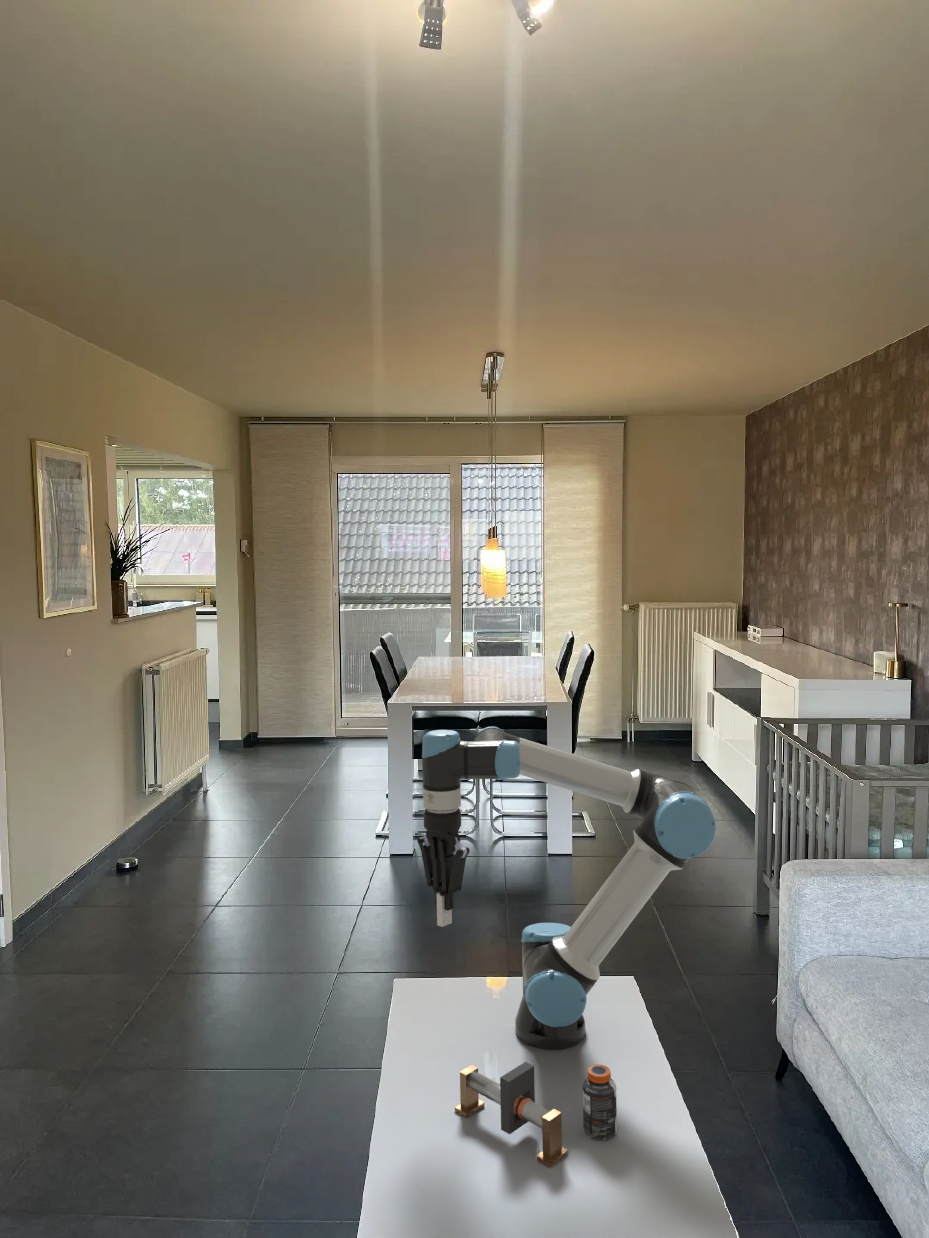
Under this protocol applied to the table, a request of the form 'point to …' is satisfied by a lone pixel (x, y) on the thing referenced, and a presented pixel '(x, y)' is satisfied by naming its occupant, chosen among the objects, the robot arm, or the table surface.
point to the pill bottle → (599, 1103)
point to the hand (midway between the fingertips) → (444, 923)
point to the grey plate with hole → (515, 1094)
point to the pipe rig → (523, 1109)
